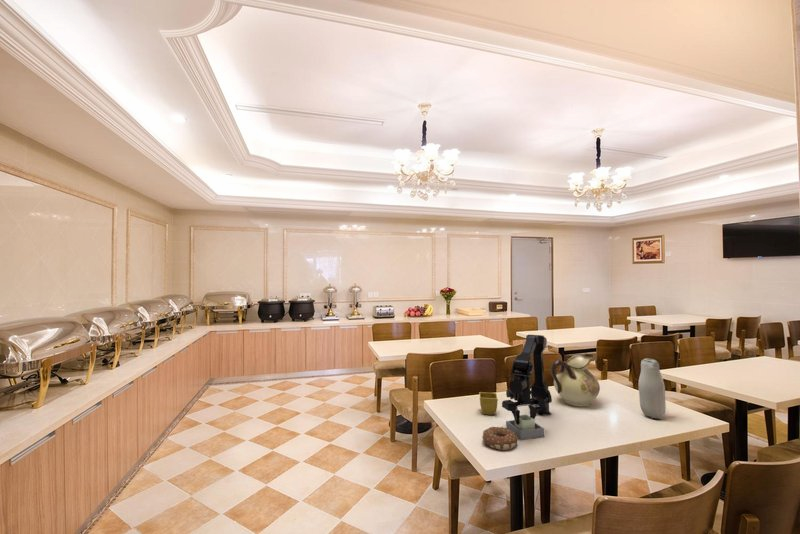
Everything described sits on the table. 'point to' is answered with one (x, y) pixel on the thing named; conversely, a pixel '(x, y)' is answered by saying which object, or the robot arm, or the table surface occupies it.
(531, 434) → the big crate
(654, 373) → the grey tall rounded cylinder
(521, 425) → the small crate
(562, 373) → the pitcher
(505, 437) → the donut
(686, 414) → the table surface
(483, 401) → the flower pot
